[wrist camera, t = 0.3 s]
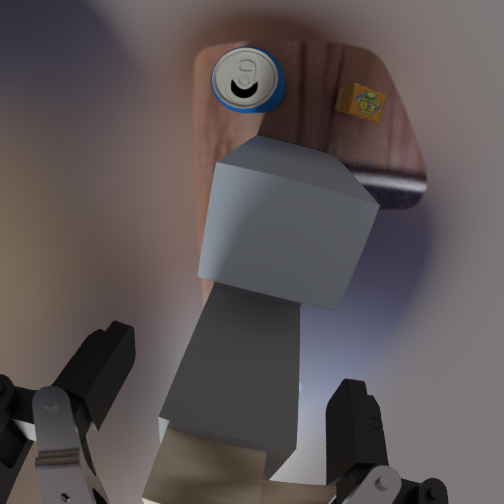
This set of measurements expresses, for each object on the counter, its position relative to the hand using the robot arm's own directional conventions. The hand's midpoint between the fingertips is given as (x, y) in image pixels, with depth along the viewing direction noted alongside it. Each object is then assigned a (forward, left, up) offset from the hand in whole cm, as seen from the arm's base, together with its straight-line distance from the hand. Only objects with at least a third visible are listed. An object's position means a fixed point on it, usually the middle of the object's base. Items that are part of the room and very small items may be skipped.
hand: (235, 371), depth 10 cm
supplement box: (+12, -6, -31) cm, 34 cm away
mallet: (-11, -5, -1) cm, 12 cm away
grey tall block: (+1, -1, -31) cm, 31 cm away
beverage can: (+11, +5, -31) cm, 33 cm away
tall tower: (-11, 0, -31) cm, 33 cm away
